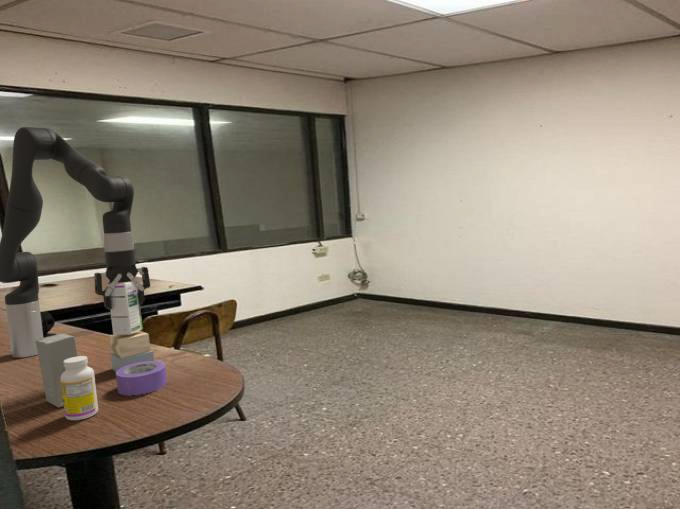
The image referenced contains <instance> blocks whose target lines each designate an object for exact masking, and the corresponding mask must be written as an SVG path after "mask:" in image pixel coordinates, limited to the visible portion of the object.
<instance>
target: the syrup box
mask: <svg viewBox="0 0 680 509" xmlns="http://www.w3.org/2000/svg"><path fill="white" fill-rule="evenodd" d="M110 284H111V283H110ZM110 284H109V285H110ZM113 285H114V284H113ZM109 296H111V305H112V309H110V319H111V326H112V335H115V334H116V335H131V334H133V333H135V332H137V331H142V330H143V328H144V327H143V321H142V320H143V319H142V311H141V304H140V300H139V291H138V288H137V287H136V285H135V284H134V283H133V282H132V281H128V282H119V283H117V284H116V286H115V288H114V289H113V290H112V291H111V293H110V295H109Z"/></svg>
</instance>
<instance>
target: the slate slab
mask: <svg viewBox="0 0 680 509" xmlns="http://www.w3.org/2000/svg"><path fill="white" fill-rule="evenodd" d="M109 354H110V355H109V356H110V363H111V370H112V369H113V371H114V372H115V373H116V372H117V370H119V369H120V368H122V367H124V366H127V365H130V364H134V363H138V362H145V361H155V360H154V359H155V358H154V351H152V350H151V349H150V351H149V352H145V353H141V354H137V355H133V356H128V357H124V358H120V357H118V356H116V355H114V354H112V353H111V352H110V353H109Z"/></svg>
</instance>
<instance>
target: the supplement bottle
mask: <svg viewBox="0 0 680 509" xmlns="http://www.w3.org/2000/svg"><path fill="white" fill-rule="evenodd" d="M88 362H89V360H88V357H87V356H86V355H78V356H77V357H72V358H68V359H66V360H64V367H65V368H66V371H65V372H63V373H62V375H61V377H60V379H61V387H62V395H63V404H64V406H63V409H64V416H65V419H66V420H69V421H81V420H86V419H88V418H91V417H92V416H95V415H96V414H97V413H98V412H99V404H98V396H97V387H96V378H95V371H94V369H93V368H92V367H90V366H88Z"/></svg>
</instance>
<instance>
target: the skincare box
mask: <svg viewBox="0 0 680 509" xmlns="http://www.w3.org/2000/svg"><path fill="white" fill-rule="evenodd" d="M56 334H57V335H53V336H49V337H45V338H41V339H37V340H36V347H37V352H38V355H37V357H38V363H39V366H40V372H41V377H42V383H43V388H44V389H43V390H44V394H45V398H46V399H45V400H46V402H48V403H49V404H51V405H52V406H54V407H56V408H62V407H64V404H63V395H62V387H61V379H60V377H61V375H62V373H63V372H65V371H66V368H65V367H64V360H66V359H68V358H72V357H77V356H79V355H78V350H77V344H76V340H75V336H74V335H70V334H66V333H64V332H62V333H56Z"/></svg>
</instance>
